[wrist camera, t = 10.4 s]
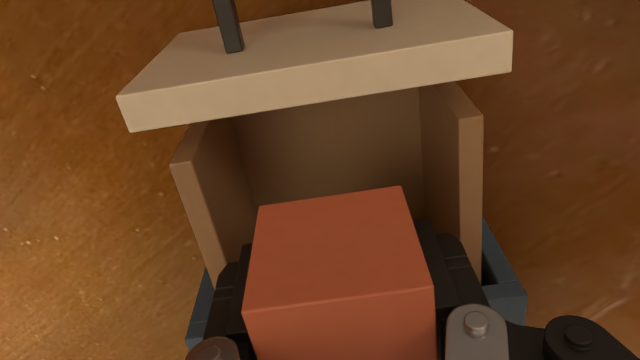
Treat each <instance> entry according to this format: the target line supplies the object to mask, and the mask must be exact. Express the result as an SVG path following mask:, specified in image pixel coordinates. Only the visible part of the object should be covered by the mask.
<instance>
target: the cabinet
mask: <svg viewBox="0 0 640 360" xmlns="http://www.w3.org/2000/svg"><path fill="white" fill-rule="evenodd" d="M481 287H482V289H483V291H484V294H485V296H486V298H487V300H488V303H489V305H490V306H491V308H492V309H494V310H495V311H497V312H498V313H499V314H500V315H501V316H502V317H503V319H505V320H507V321H509V322H511V323H514V324H517V325H522V326H525V319H526V307H527V294H526V292H525V290H524V289H523V287H522V285H521V283H520V282H519V280H518V278H517V276H516V275H515V273H514V271H513V269H512V267H511V266H510V264H509V262H508V260H507V258H506V257H505V255H504V253H503V251H502V250H501V248H500V246H499V244H498V242H497V241H496V239H495V237H494V235H493V233H492V232H491V230H490V228H489V226H488V224H487V223H486V221H485V219H484V217H483V215H482V249H481ZM214 291H215V289H214V287H213V284H212V281H211V278H210V276H209V273H208V270H207V268H205V271H204V275H203V278H202V281H201V285H200V288H199V292H198V295H197V299H196V302H195V306H194V309H193V313H192V316H191V320H190V325H189V327H188V331H187V334H186V338H185V342H186V344H187V346H188V348H189V351H191V349H192V348H193V347H194V346H196V345H197V344H198V343H200V342H201V341H202V340H203V336H204V332H205V328H206V324H207V320H208V315H209V311H210V307H211V303H212V302H213V295H214Z"/></svg>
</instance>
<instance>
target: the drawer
mask: <svg viewBox="0 0 640 360" xmlns="http://www.w3.org/2000/svg"><path fill="white" fill-rule="evenodd" d="M212 2H213V6H214V10H215V13H216V17H217V21H218V25H219V26H218V27H212V28H206V29H200V30H195V31H189V32H183V33H179V34H178V35H177V36H176V37H175V38H174V39H173V40H172V41H171V42H170V43H169V44H168V45H167V46H166V47H165V48H164V49H163V50H162V51H161V52H160V53H159V54H158V55H157V56H156V57H155V58H154V59H153V60H152V61H151V62H150V63H149V64H148V65H147V66H146V67H145V68H144V69H143V70H142V71H141V72H140V73H139V74H138V75H137V76H136V77H135V78H134V79H132V80H131V81H130V82H129V83H128V84H127V85H126V86H125V87H124V88H123V89H122V90H121V91H120V92H119V93H118V94H117V95H116V96H115V98H116V100H117V103H118V105H119V108H120V110H121V113H122V115H123V118H124V120H125V123H126V125H127V128H128V130H129V132H130V133H133V132H139V131H146V130H152V129H158V128H164V127H171V126H177V125H183V124H189V123H191V124H190V126H189V128H188V129H187V131H186V133H185V135H184V137H183V139H182V140H181V142H180V144H179V146H178V148H177V150H176V151H175V153H174V155H173V157H172V159H171V161H170V162H169V168H170V171H171V173H172V176H173V179H174V182H175V184H176V187H177V190H178V192H179V195H180V198H181V200H182V203H183V206H184V208H185V211H186V214H187V217H188V219H189V222H190V225H191V227H192V230H193V233H194V235H195V238H196V241H197V243H198V246H199V249H200V252H201V254H202V257H203V260H204V262H205V265H206V268H207V270H208V273H209V276H210V278H211V281H212V284H213V287H214V289H215V287H216V283H217V279H218V275H219V274H220V273H221V271H222V270H223V269H224V267H225V266H226V265H227V263H231V262H238V261H239V258H240V253H241V248H242V245H243V244H248V243H253V239H254V233H255V227H256V221H257V215H258V209H259V206H263V205H270V204H277V203H283V202H290V201H297V200H304V199H311V198H318V197H324V196H331V195H338V194H345V193H352V192H358V191H365V190H372V189H379V188H386V187H393V186H401V187H402V190H403V193H404V196H405V199H406V202H407V205H408V208H409V211H410V214H411V217H412V221H413V220H421V219H428V218H429V219H430V221H431V224H432V227H433V229H434V232H435V234H442V233H449V232H450V233H451V234H452V235H453V236H454V237H456V238H457V239H458V240H459V241H460V242H462V245H463V247H464V249H465V251H466V254H467V257H468V258H469V260H470V263H471V265H472V267H473V269H474V271H475V274H476V276H477V278H478V280H479V283H480V285H481V249H482V191H483V133H484V116H483V115H482V113H481V112H480V111H479V110H478V109H477V107H476V106H475V105H474V104H473V102H472V101H471V100H470V99H469V98H468V96H467V95H466V94H465V93H464V92H463V90H462V89H461V88H460V87H459V86H458V84H457V83H456V82H455V81H458V80H465V79H471V78H477V77H483V76H490V75H496V74H502V73H509V72H511V70H512V50H513V30H511V29H510V28H508V27H506V26H505V25H503V24H501V23H500V22H498V21H497V20H495V19H493V18H492V17H490V16H488V15H487V14H485V13H484V12H482V11H480V10H479V9H477V8H476V7H474V6H472V5H471V4H469V3H467V2H466V1H464V0H368V1H362V2H357V3H351V4H345V5H339V6H333V7H328V8H322V9H316V10H310V11H305V12H299V13H293V14H287V15H281V16H276V17H270V18H264V19H258V20H252V21H247V22H241V23H239V19H238V15H237V11H236V7H235V3H234V0H212Z"/></svg>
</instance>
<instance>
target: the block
mask: <svg viewBox="0 0 640 360" xmlns="http://www.w3.org/2000/svg"><path fill="white" fill-rule="evenodd" d="M241 314H242V317H243V320H244V322H245V325H246V328H247V331H248V334H249V337H250V340H251V343H252V346H253V349H254V351H255V354H256V357H257V360H438V353H437V333H436V313H435V294H434V285H433V282H432V279H431V276H430V273H429V270H428V267H427V263H426V260H425V257H424V254H423V251H422V248H421V245H420V242H419V239H418V236H417V233H416V230H415V227H414V224H413V221H412V217H411V214H410V211H409V208H408V205H407V202H406V199H405V196H404V193H403V190H402V187H401V186H393V187H386V188H379V189H372V190H365V191H358V192H352V193H345V194H338V195H331V196H324V197H318V198H311V199H304V200H297V201H290V202H283V203H277V204H270V205H263V206H259V209H258V215H257V221H256V227H255V233H254V239H253V244H252V250H251V256H250V262H249V268H248V274H247V280H246V286H245V292H244V298H243V304H242V310H241Z"/></svg>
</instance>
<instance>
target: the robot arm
mask: <svg viewBox="0 0 640 360" xmlns="http://www.w3.org/2000/svg"><path fill="white" fill-rule="evenodd" d="M413 224H414V227H415V230H416V233H417V236H418V239H419V242H420V245H421V248H422V251H423V254H424V257H425V260H426V263H427V267H428V270H429V273H430V276H431V279H432V282H433V285H434V294H435V313H436V333H437V353H438V360H640V359H639V358H638V357H636V356H635V355H634V354H633V353H632V352H631V351H629V350H628V349H627V348H626V347H625V346H624V345H622V344H621V343H620V342H619V341H618V340H617V339H615V338H614V337H613V336H612V335H611V334H610V333H608V332H607V331H606V330H605V329H604V328H602V327H601V326H600V325H598V324H597V323H595V322H593V321H591V320H589V319H586V318H583V317H579V316H572V315H567V316H560V317H556V318H554V319H552V320H551V321H550V322H549V323H548V324H547V325H546V327H545V329H543V328H535V327H528V326H522V325H517V324H514V323H511V322H509V321H507V320H505V319H503V317H502V316H501V315H500V314H499V313H498V312H497V311H495V310H494V309H492V308H491V306H490V305H489V303H488V300H487V298H486V296H485V294H484V291H483V289H482V287H481V285H480V283H479V280H478V278H477V276H476V274H475V271H474V269H473V267H472V265H471V263H470V260H469V258H468V257H467V254H466V251H465V249H464V247H463V245H462V242H460V241H459V240H458V239H457V238H456V237H454V236H453V235H452V234H451V233H450V232H449V233H442V234H435V232H434V229H433V227H432V224H431V221H430V219H429V218H428V219H421V220H413ZM252 244H253V243H248V244H243V245H242V248H241V253H240V258H239V261H238V262H231V263H227V265H226V266H225V267H224V269H223V270H222V271H221V273H220V274H219V275H218V279H217V283H216V287H215V291H214V295H213V302H212V303H211V307H210V311H209V315H208V320H207V324H206V328H205V332H204V336H203V340H202V341H201V342H200V343H198V344H197V345H196V346H194V347H193V348H192V349H191V351H190V352H189V353H188V355H187V356H186V359H185V360H257V357H256V354H255V351H254V349H253V346H252V343H251V340H250V337H249V334H248V331H247V328H246V325H245V322H244V320H243V317H242V314H241V310H242V304H243V298H244V292H245V286H246V280H247V274H248V268H249V262H250V256H251V250H252Z"/></svg>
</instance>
